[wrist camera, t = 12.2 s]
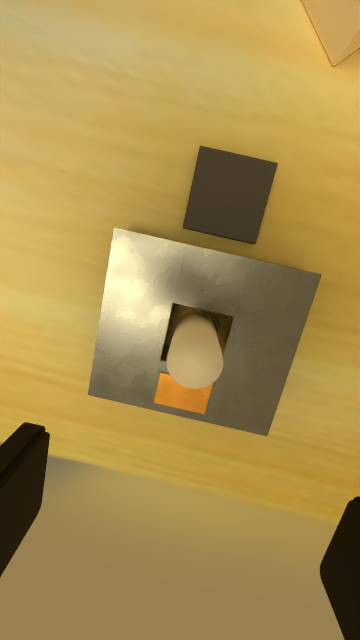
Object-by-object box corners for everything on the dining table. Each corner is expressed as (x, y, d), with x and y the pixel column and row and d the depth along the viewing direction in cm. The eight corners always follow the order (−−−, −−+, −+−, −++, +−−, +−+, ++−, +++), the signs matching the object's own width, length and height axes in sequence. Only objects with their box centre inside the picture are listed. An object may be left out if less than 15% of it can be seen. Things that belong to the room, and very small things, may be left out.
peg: (180, 305, 29) (173, 329, 19) (218, 313, 29) (229, 342, 19) (172, 341, 30) (161, 381, 20) (209, 349, 30) (215, 394, 20)
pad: (199, 149, 26) (200, 145, 25) (274, 166, 26) (277, 163, 25) (183, 228, 27) (182, 227, 26) (253, 244, 27) (255, 243, 26)
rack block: (125, 231, 28) (113, 227, 24) (303, 271, 28) (322, 274, 23) (101, 377, 31) (87, 395, 27) (258, 413, 31) (267, 437, 27)
